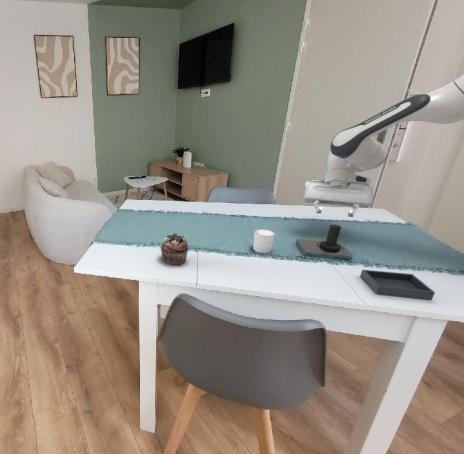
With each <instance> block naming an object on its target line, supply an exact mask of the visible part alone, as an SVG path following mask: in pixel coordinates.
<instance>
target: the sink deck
mask: <svg viewBox="0 0 464 454" xmlns="http://www.w3.org/2000/svg"><path fill="white" fill-rule="evenodd" d="M322 241H323V240H318V239H317V240H316V239H304V238H303V239H301V238H296V241H295V245H296V247H297V248H298V249H299V251H300V252H301V254H302V255H303V257H309V258H311V257H312V258H322V259H323V258H324V259H335V260H345V261H347V260H348V261H352V260H353V256H354V254H353V253H352V252H351V251H350V250H349V249H348V248H347V247H346V246H345V245H344V244H343V243H342V241H337V244H339V245H341V249H340V250H328V249H325V248H322V247H321V246H320V242H322Z"/></svg>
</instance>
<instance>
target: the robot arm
mask: <svg viewBox="0 0 464 454" xmlns="http://www.w3.org/2000/svg"><path fill="white" fill-rule="evenodd" d="M461 121H464V74H462V75H461V76H459V77H457V78H455V79H454V80H452V81H451V82H448V83H447V84H445V85H443V86H440V87H439V88H436V89H434V90H432V91H429V92H426V93H423V94H422V93H421V94H415V95H412V96H410V97H407V98H405V99H403V100H401V101H400V102H397V103H395V104H393V105H391V106H390V107H387V108H386V109H384V110H382V111H380V112H378V113H376V114H374V115H373V116H371V117H369V118H367V119H365V120H363V121H362V122H359V123H357V124H355V125H352V126H350V127H348V128H345V129H343V130H341V131H339V132H338V133H336V134H335V135H334V136H333V137H332V140H331V142H330V146H329V147H330V148H329V151H328V153H327V157H326V161H325V169H326V170H325V172H324V175H323V176H324V178H323V179H309V180H307V181H305V182H304V186H303V188H304V190H305V191H304V193H303V197H302V201H303V202H304V203H309V204H313V207H314V208H315V213H316V214H319V215H320V214H322V213H323V212H322V210H323V207H320V205H319V204H321V205H322V204H323V205H329V206H330V205H331V206H341V207H342V206H343V207H350V208H351V207H352V210H349V211H348V212H347V217H348V218H354V216H355V213H356V212H357V210H358V209H360V208H362V209H368V208H370V207H371V206H372V205H373V204H374V191H373V188H372V186H371V185H370V184H371V181H372V180H371V178H369V177H367V176H362V175H359V174H356V173H359V172H365V171H369V170H372V169H373V170H374V169H375V168H378V167H380V166H381V165H382V164H384V162H385V161H386V160H387V158H388V156H389V148H388V147H387V146H386V145H385V144H383V143H381V142H380V141H379V140H376V139H375V138H373V137H374V136H376V135H378V134H380V133H383V132H384V131H386V130H388V129H390V128H392V127H395V126H396V125H399V124H402V123H406V122H423V123H424V122H425V123H430V124H437V125H448V124H455V123H458V122H461Z"/></svg>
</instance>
